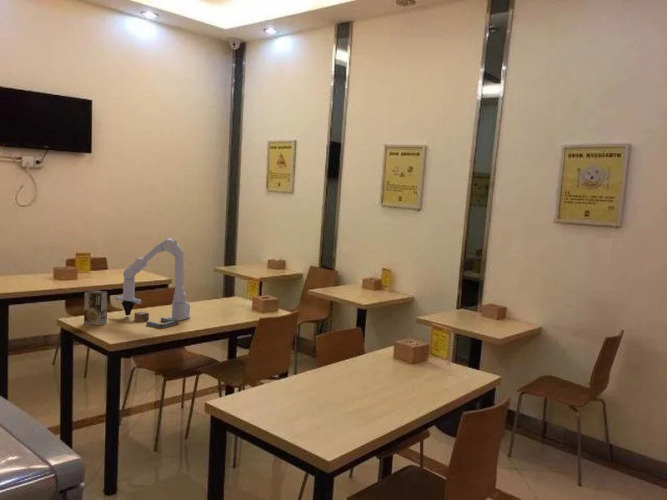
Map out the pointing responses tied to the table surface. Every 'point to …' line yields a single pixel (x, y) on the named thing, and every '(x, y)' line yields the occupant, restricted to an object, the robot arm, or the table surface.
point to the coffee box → (95, 307)
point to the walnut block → (141, 316)
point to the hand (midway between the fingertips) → (127, 315)
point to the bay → (167, 323)
